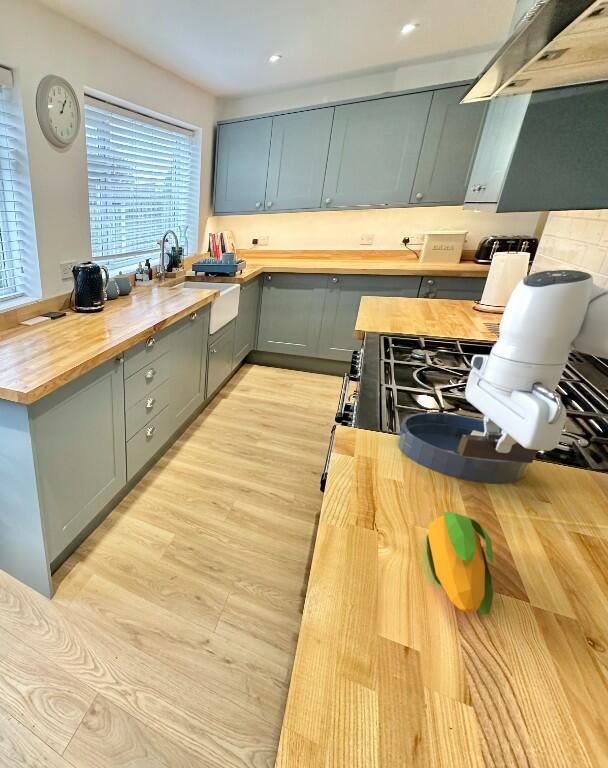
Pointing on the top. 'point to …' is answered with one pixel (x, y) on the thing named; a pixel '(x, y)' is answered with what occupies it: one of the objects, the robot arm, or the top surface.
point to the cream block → (477, 433)
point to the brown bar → (484, 449)
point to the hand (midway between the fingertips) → (494, 445)
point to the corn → (461, 561)
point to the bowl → (452, 448)
